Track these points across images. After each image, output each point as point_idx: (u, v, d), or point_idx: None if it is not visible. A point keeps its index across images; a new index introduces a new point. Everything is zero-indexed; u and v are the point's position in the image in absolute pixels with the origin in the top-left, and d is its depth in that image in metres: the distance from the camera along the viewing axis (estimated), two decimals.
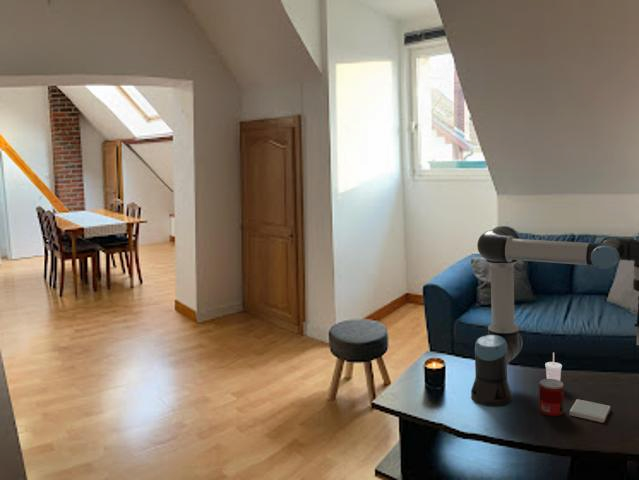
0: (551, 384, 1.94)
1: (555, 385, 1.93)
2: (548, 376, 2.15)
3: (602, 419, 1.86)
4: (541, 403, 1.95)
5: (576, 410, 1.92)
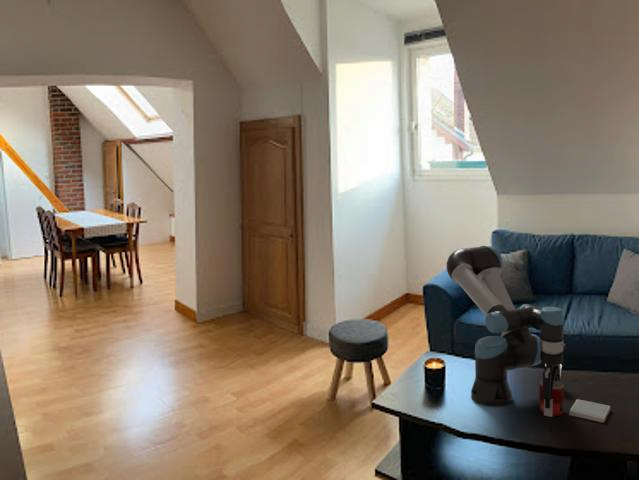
0: None
1: (555, 385, 1.93)
2: None
3: (602, 419, 1.86)
4: (541, 403, 1.95)
5: (576, 410, 1.92)
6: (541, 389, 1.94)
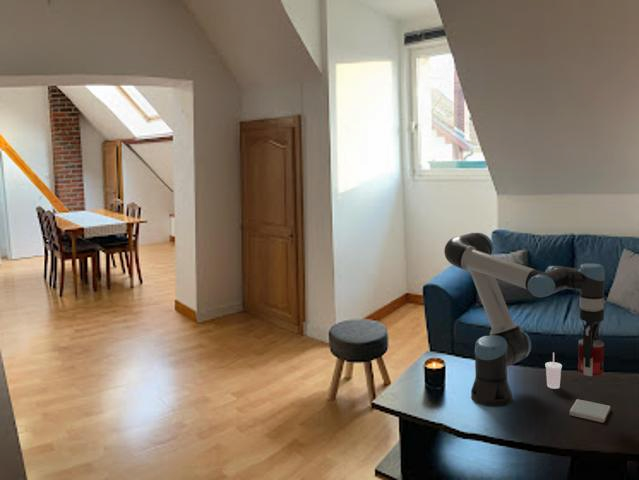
0: None
1: (595, 344, 1.88)
2: (548, 376, 2.15)
3: (602, 419, 1.86)
4: (580, 363, 1.90)
5: (576, 410, 1.92)
6: (580, 348, 1.89)
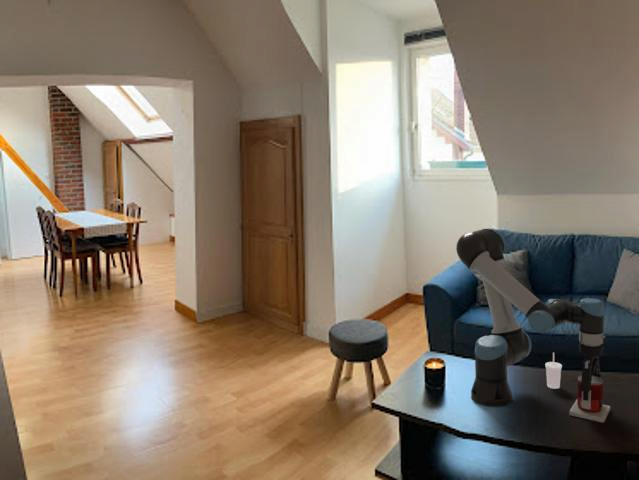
0: None
1: (594, 381, 1.90)
2: (548, 376, 2.15)
3: (602, 419, 1.86)
4: (579, 399, 1.92)
5: (576, 410, 1.92)
6: (580, 385, 1.92)
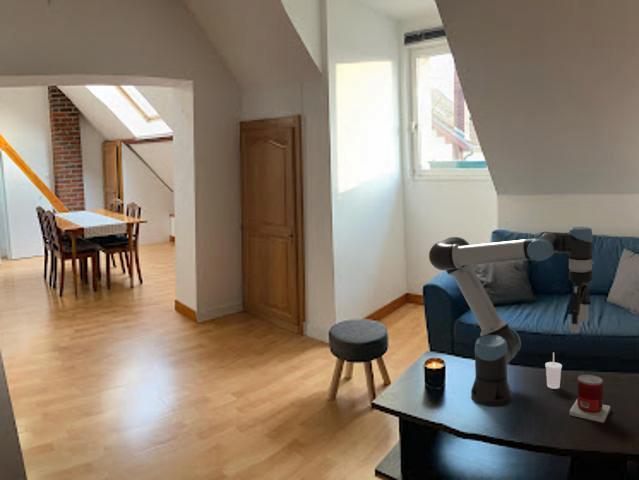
0: (590, 380, 1.91)
1: (594, 381, 1.90)
2: (548, 376, 2.15)
3: (602, 419, 1.86)
4: (579, 399, 1.92)
5: (576, 410, 1.92)
6: (580, 385, 1.92)
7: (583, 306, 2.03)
